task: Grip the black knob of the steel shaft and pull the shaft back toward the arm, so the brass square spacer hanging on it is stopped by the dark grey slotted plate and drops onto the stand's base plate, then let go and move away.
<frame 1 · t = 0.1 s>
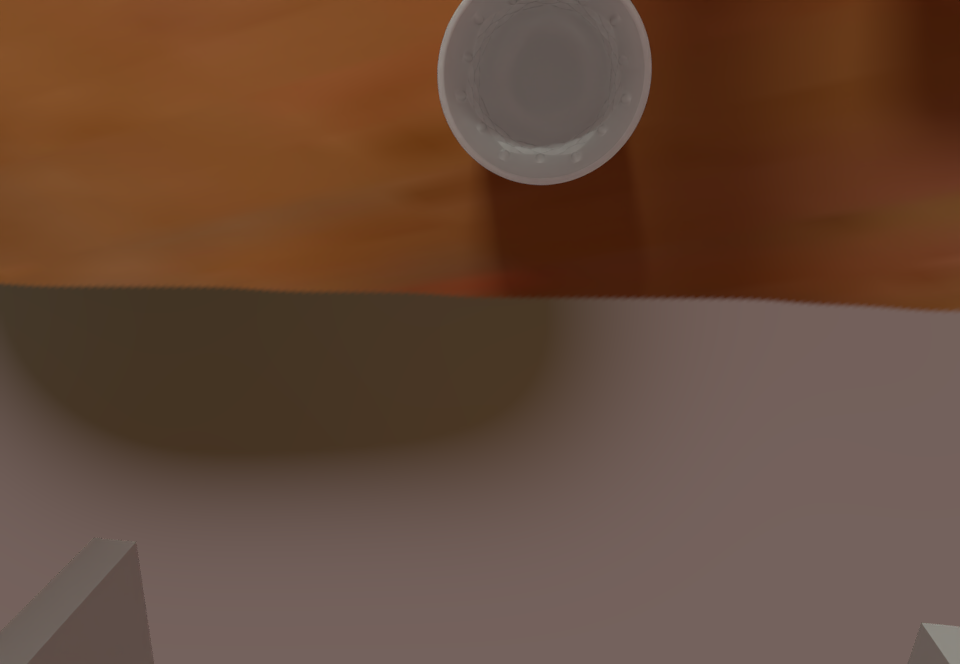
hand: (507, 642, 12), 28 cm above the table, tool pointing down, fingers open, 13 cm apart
white cup: (544, 78, 35), on the table
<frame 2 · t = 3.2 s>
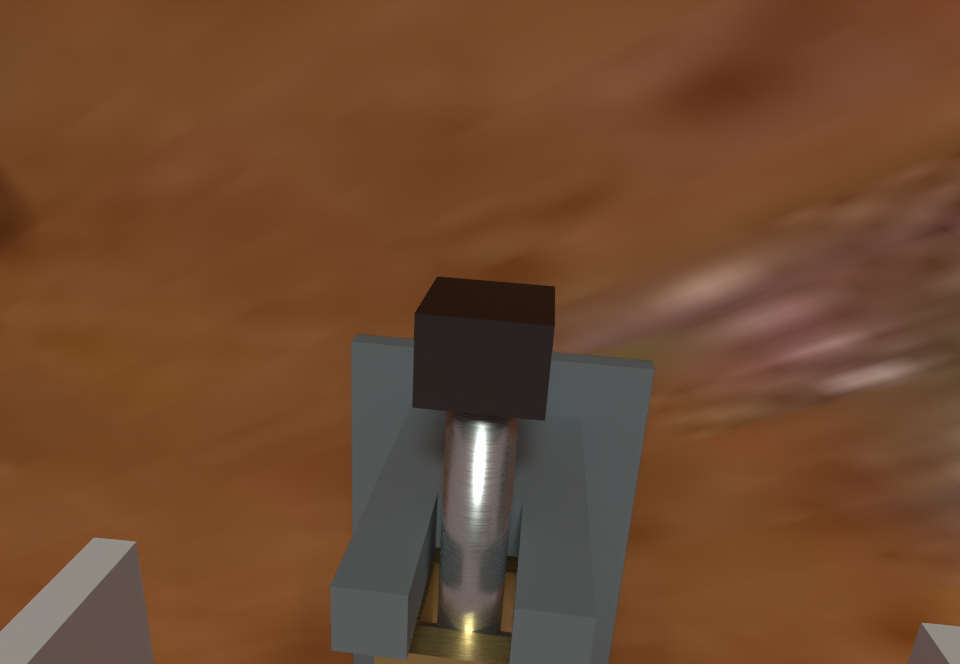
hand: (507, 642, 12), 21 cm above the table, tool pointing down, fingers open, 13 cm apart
shaft: (471, 591, 25), point 10 cm above the table, slide at 0.0 cm, touching spacer
spacer: (478, 577, 30), point 6 cm above the table, touching shaft
shaft stand: (491, 492, 36), on the table
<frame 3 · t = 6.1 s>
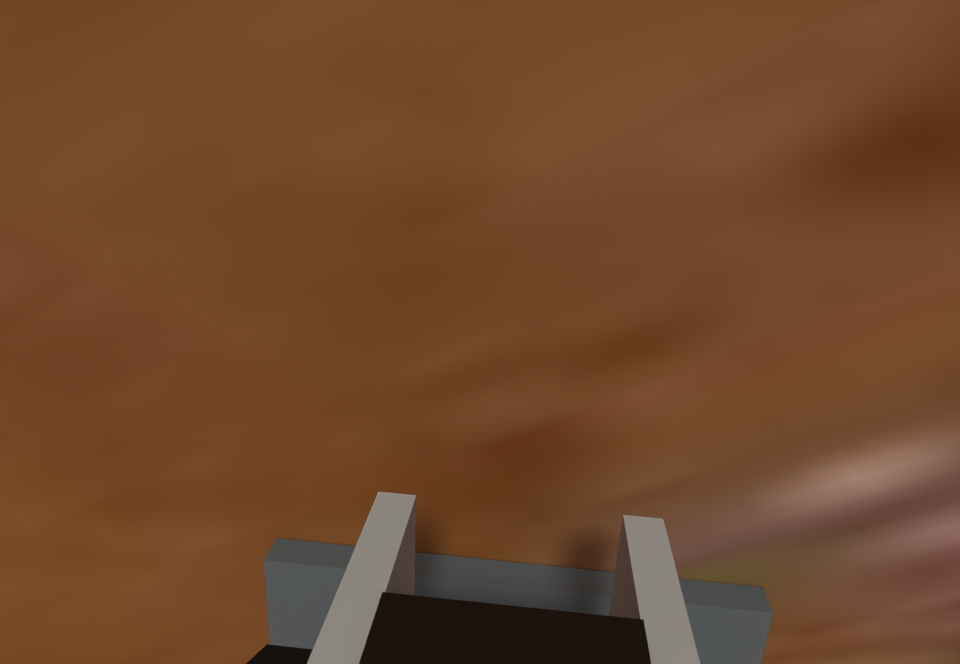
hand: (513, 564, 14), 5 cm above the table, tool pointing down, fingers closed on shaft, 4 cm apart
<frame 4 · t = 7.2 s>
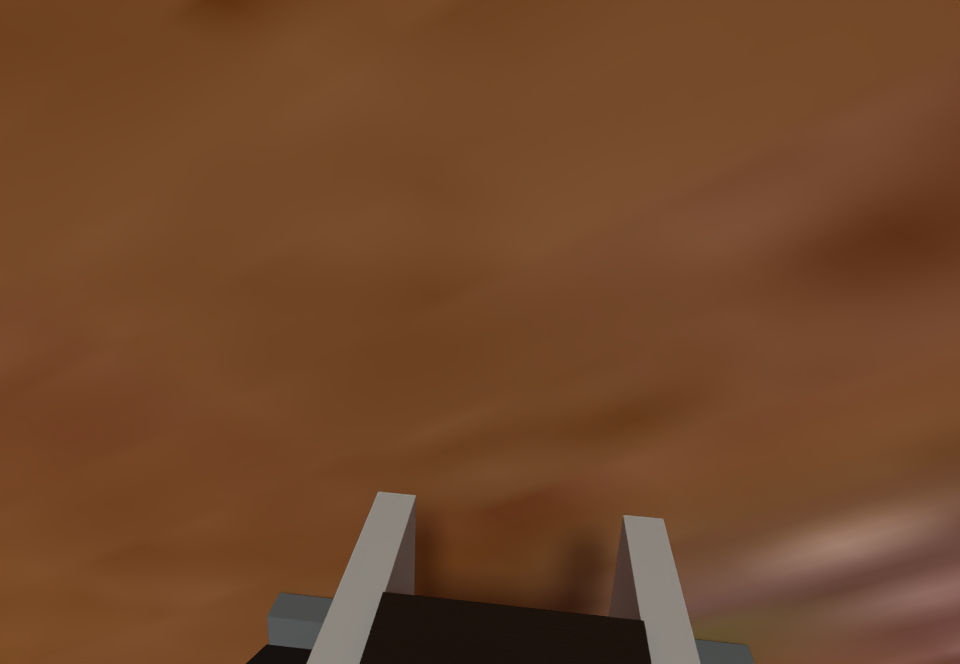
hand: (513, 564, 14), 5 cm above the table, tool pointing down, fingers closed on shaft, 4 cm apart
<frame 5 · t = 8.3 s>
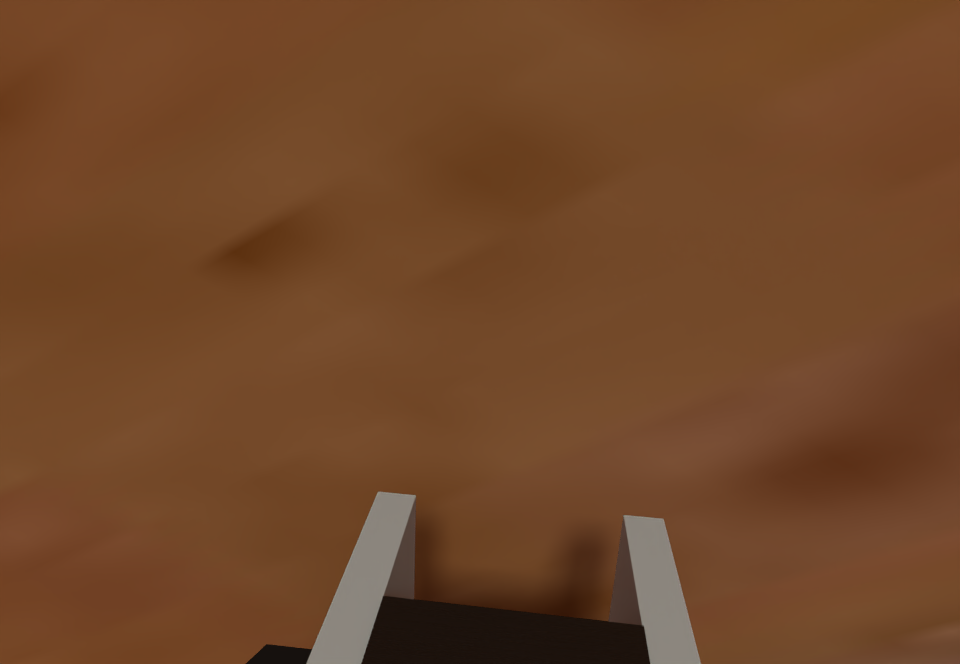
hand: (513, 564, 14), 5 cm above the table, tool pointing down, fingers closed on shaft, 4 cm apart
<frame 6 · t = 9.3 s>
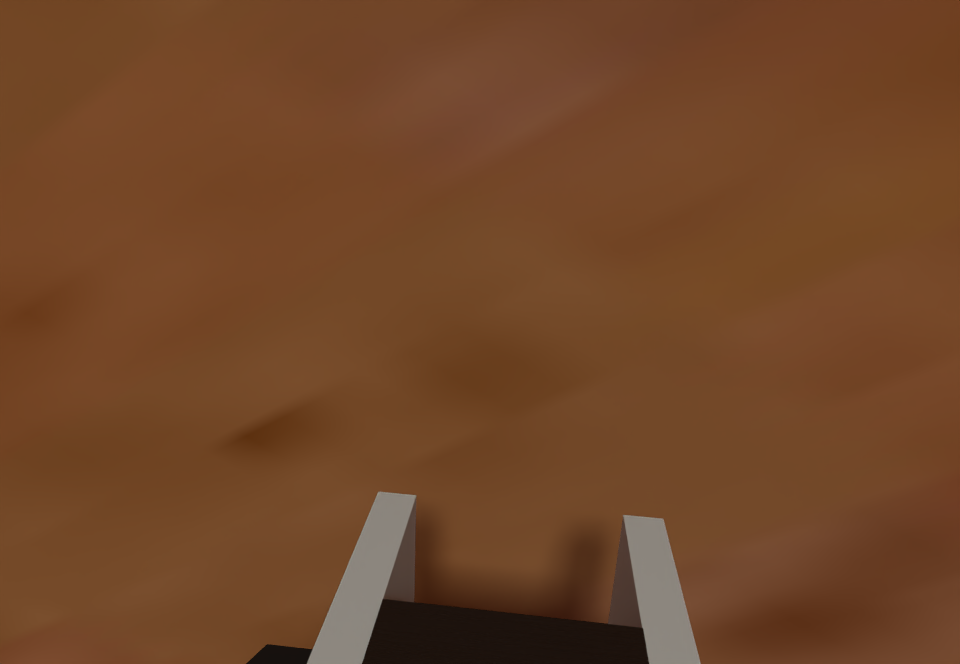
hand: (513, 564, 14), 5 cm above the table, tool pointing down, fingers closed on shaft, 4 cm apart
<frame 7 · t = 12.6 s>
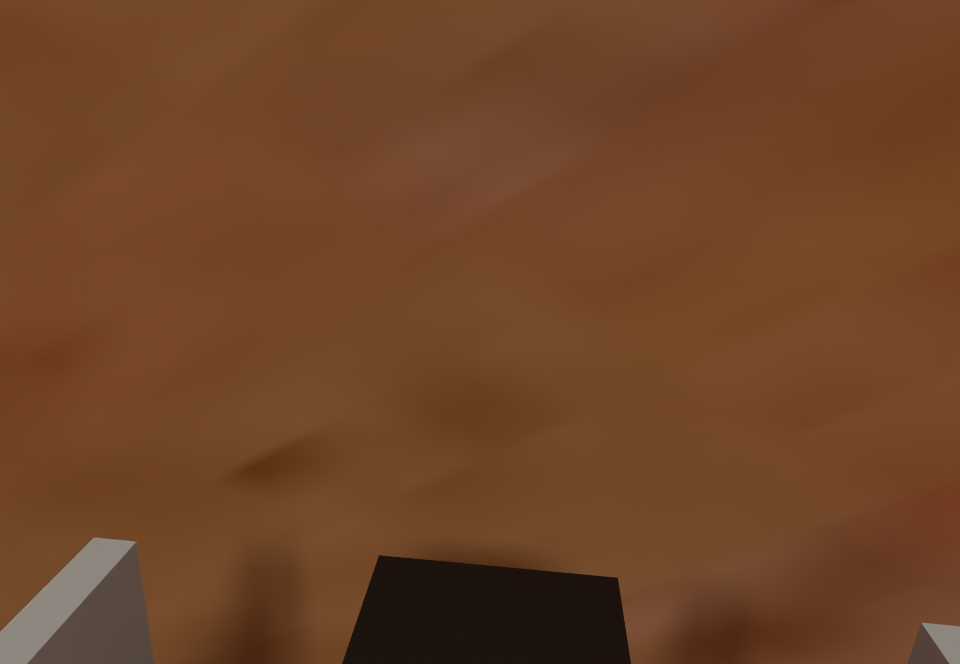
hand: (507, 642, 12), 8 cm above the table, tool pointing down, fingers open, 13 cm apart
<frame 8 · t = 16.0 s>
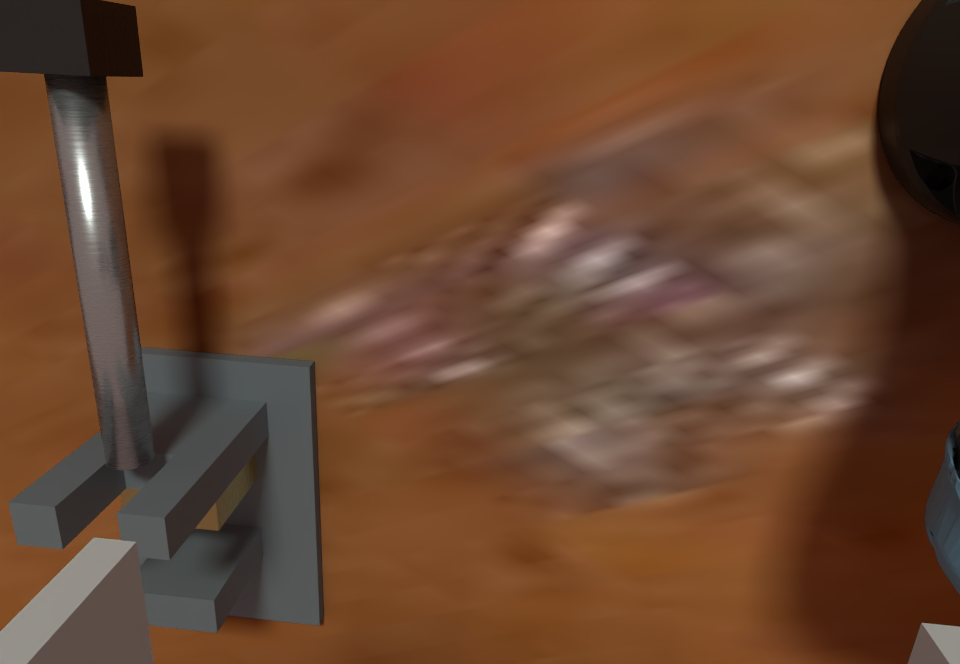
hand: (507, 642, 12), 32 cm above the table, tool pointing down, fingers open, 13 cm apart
shaft: (101, 255, 34), point 10 cm above the table, slide at 14.8 cm
spacer: (213, 455, 48), point 1 cm above the table, touching shaft stand
shaft stand: (221, 458, 49), on the table
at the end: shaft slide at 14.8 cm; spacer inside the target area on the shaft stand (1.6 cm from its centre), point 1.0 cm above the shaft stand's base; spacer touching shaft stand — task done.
